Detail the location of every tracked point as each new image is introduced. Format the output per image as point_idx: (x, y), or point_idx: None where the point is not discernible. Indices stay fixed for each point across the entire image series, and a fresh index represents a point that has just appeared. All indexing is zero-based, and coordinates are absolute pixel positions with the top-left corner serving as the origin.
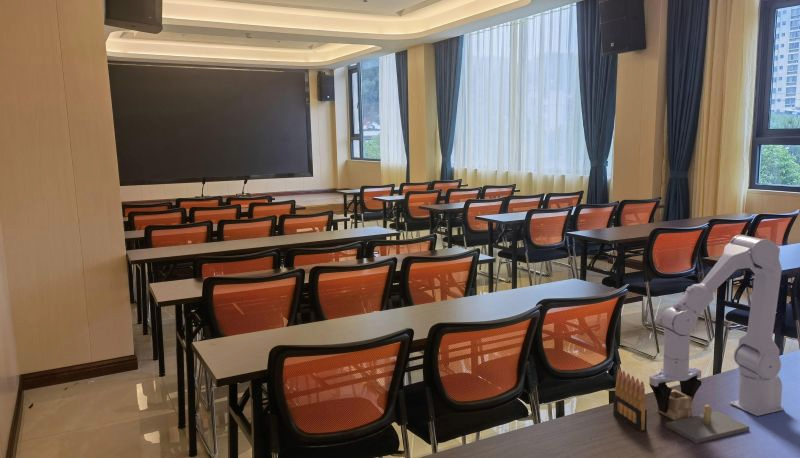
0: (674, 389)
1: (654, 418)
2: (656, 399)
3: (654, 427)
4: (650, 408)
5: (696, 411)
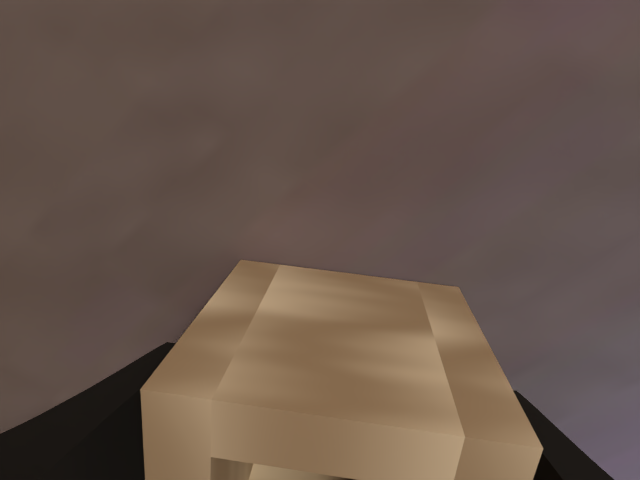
0: (523, 447)
1: (114, 332)
2: (66, 406)
3: (14, 423)
4: (233, 169)
5: (563, 426)
